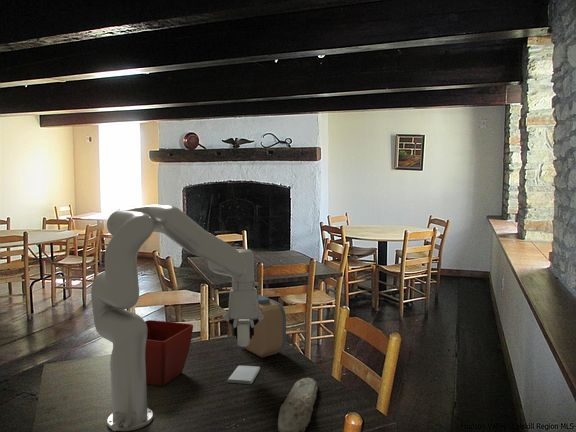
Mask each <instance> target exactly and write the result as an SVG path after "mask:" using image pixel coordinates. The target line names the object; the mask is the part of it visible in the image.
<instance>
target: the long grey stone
mask: <svg viewBox="0 0 576 432" xmlns="http://www.w3.org/2000/svg"><path fill="white" fill-rule="evenodd" d="M317 382H318V381H317V380H315V379H314V378H311V377H303V378H301V379H299V380H297V381H296V382H295V383H294V384H293V386H292V387H291V389H290V391H289V393H288V394H287V397H286V399H284V402H283V403H282V404H281V405H280V407H279V412H278V420H277V431H278V432H305V431H306V428H307V427H308V425H309V424H310V422H311V418H312V413H313V411H314V405H315V402H316V400H317V393H318V389H319V388H318V383H317Z"/></svg>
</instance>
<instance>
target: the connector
mask: <svg viewBox="0 0 576 432" xmlns="http://www.w3.org/2000/svg"><path fill="white" fill-rule="evenodd" d="M237 338H238V339H237V346H238V347H240V348H241V347H242V348H245V346H249V344H250V340H251V339H250V320H249V319H239V321H238V324H237Z"/></svg>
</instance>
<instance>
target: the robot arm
mask: <svg viewBox="0 0 576 432" xmlns="http://www.w3.org/2000/svg"><path fill="white" fill-rule="evenodd" d="M106 228H107V231H108V233H109V234H110V235H111V236H112V237H111V239H110V240H109V242H108V244H107V245H106V248H105V252H104V270H103V272H100V273H99V274H98V275H96V276H95V278H94V280H93V282H92V284H91V288H90V289H91V290H90V295H91V306H92V314H93V315H92V316H93V323H94V327H95V328H94V329H95V330H96V332H97V334H98V335H99V336H100V337H101V338H103V339H105V340H107V341H109V342H110V343H112V351H111V354H110V360H109V361H110V362H109V367H110V383H111V384H110V385H111V387H110V388H111V407H112V412H111V414H110V415H109V416H108V417H107V419H106V425H107V427H108V428H109V429H111V430H112V431H114V432H116V431H117V432H129V431H136V430H138V429H141V428H144V427H146V426H147V425H149V424H150V423H151V422H152V420H153V418H154V413H153V410H151V409H150V408H149V407H148V397H147V396H148V392H147V391H148V390H147V389H148V388H147V384H146V363H145V349H146V340H147V333H148V330H147V325H146V323H145V321H146V320H144V318H142V316H140V315H138V314H137V313H135V312H133V311H130V310H129V309H132V308H133V307H134V306H136V304H137V303H138V301H139V299H140V285H139V275H138V274H139V273H138V262H137V261H138V255H139V252H140V250H141V248H142V246H143V244H145V242H146V241H148V239H149V238H150V237H151V236H152V235H153V232H154V233H155V232H156V233H161V234H164V235H165V236H166V237H168V238H169V239H170V240H171V241H173V242H174V243H176V245H178V246H179V247H181V248H183V250H185V251H187V252H188V253H190V254H191V255H194V256H196V257H199V258H202V259H205V260H207V267H208V269H209V270H210V271H211V272H213V273H214V274H216V275H217V274H218V275H221V276H227V277H230V278H231V288H230V291H229V296H228V310H227V311H226V313H225V314H224V316H223V320H224V321H226V322H228V323H229V324H230V325H231V327H233V335H234V337H235V340H238V338H237V323H238V319H249V320H250V339H252V336H254V326H255V325H256V324H257V323H258V322H259V321H261V320H262V319H264V315H263V314H262V312H261V311H260V310H259V304H258V295H259V294H258V290H257V288H256V287H258V286H259V282H258V281H256V280H255V268H254V266H255V265H254V264H255V261H254V259H255V257H254V252H253V250H252V249H249V248H239V249H237V248H235V247H234V246H232V245H231V244H229V243H228V242H226V241H224V240H222V239H221V238H219V237H217V236H216V235H214V234H213V233H211V232H209V231H206V229H204V228H203V227H202V226H201V225H199V224H198V223H197V222H196V221H195V220H194V219H192V218H191V217H189V216H188V215H187V214H186V213H185V212H184V211H182V210H181V209H180V208H178V207H177V206H174V205H166V204H149V205H144V206H137V207H130V208H123V209H118V210H116V211H114V212H112V213H111V214H110V215H109V216H108V218H107V221H106ZM258 315H259V317H258ZM257 317H258V318H257ZM255 318H256V319H255ZM254 319H255V320H254Z"/></svg>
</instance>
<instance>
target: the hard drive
mask: <svg viewBox="0 0 576 432" xmlns="http://www.w3.org/2000/svg"><path fill="white" fill-rule="evenodd" d="M260 370H261V366H254V365H252V366H251V365H238V366H237V367H236V368H235V370H234V371H233V372H232V373H231V375H230V376H229V377H228V379H227V383H229V384H231V383H232V384H235V383H236V384H245V385H252V383H253V382H254V380H255V379H256V377H257V376H258V374H259V372H260Z"/></svg>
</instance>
